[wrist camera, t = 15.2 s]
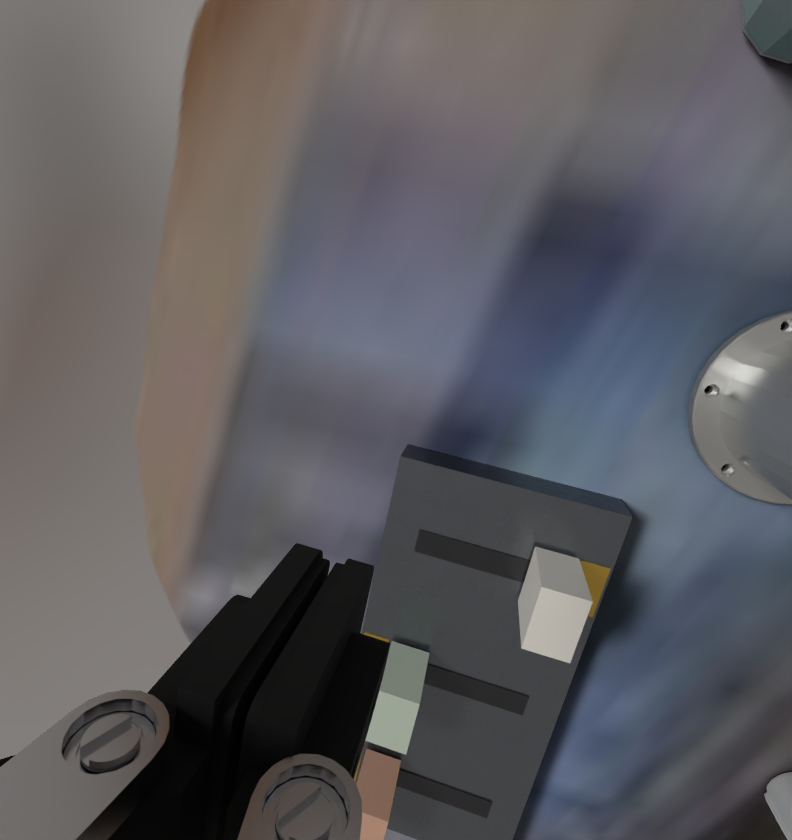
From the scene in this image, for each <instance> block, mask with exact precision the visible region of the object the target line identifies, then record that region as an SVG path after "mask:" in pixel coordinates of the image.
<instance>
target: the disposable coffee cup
mask: <svg viewBox="0 0 792 840" xmlns="http://www.w3.org/2000/svg"><path fill="white" fill-rule="evenodd" d="M742 9H743V32H744V34H745V35H746V36H747V38H748V39H749V41H750V42H751V43H752V45H753V46H754V47H755V49H756V50H757V52H758V53H759V54H760V55H761V56H765V57H768V58H771V59H774V60H778V61H781V62H784V63H788V64H789V63H792V0H742Z"/></svg>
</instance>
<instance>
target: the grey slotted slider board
mask: <svg viewBox="0 0 792 840" xmlns="http://www.w3.org/2000/svg"><path fill="white" fill-rule="evenodd" d="M632 518H633V517H632V515H631V514H630V512H629V510H628V509H627V507H626V506H625V504H624V502H623V501H622V499H618V498H614V497H610V496H606V495H603V494H599V493H595V492H591V491H587V490H583V489H579V488H575V487H572V486H568V485H564V484H560V483H556V482H552V481H548V480H545V479H541V478H537V477H533V476H529V475H525V474H521V473H517V472H514V471H510V470H506V469H502V468H498V467H494V466H490V465H486V464H483V463H479V462H475V461H471V460H467V459H463V458H459V457H455V456H452V455H448V454H444V453H440V452H436V451H432V450H428V449H425V448H421V447H417V446H413V445H409V444H408V445H407V446H406V448H405V450H404V451H403V453H402V455H401V457H400V461H399V466H398V470H397V475H396V480H395V484H394V489H393V493H392V498H391V502H390V507H389V512H388V516H387V521H386V525H385V530H384V535H383V539H382V544H381V548H380V553H379V557H378V562H377V567H376V571H375V576H374V580H373V585H372V590H371V594H370V599H369V603H368V608H367V612H366V617H365V622H364V626H363V631H362V634H364V635H367V636H370V637H373V638H376V639H379V640H383V641H386V642H389V643H390V646H391V642H392V641H394V642H397V643H400V644H403V645H406V646H409V647H413V648H416V649H419V650H422V651H425V652H428V653H429V658H428V663H427V669H426V674H425V679H424V684H423V690H422V695H421V700H420V705H419V709H418V713H417V716H416V720H415V724H414V727H413V731H412V735H411V738H410V742H409V746H408V750H407V753H406V755H405V754H402V753H399V752H396V751H394V750H391V749H388V748H385V747H382V746H379V745H376V744H373V743H371V742H368V741H365V743H364V746H363V750H362V753H361V756H360V760H359V763H358V767H357V770H356V773H355V777H354V781H355V783H356V784H357V780H358V777H359V773H360V770H361V766H362V763H363V759H364V756H365V752H366V749H369V750H372V751H375V752H378V753H381V754H384V755H386V756H389V757H392V758H395V759H398V760H401V764H400V768H399V773H398V778H397V783H396V788H395V793H394V798H393V802H392V807H391V812H390V817H389V822H388V826H387V828H388V829H390V830H393V831H396V832H399V833H401V834H404V835H407V836H409V837H412V838H415V839H417V840H513V837H514V834H515V831H516V829H517V826H518V823H519V821H520V818H521V815H522V813H523V810H524V807H525V805H526V802H527V799H528V797H529V794H530V791H531V789H532V786H533V783H534V781H535V778H536V775H537V772H538V770H539V767H540V764H541V762H542V759H543V756H544V754H545V751H546V748H547V746H548V743H549V740H550V738H551V735H552V732H553V730H554V727H555V724H556V722H557V719H558V716H559V713H560V711H561V708H562V705H563V703H564V700H565V697H566V695H567V692H568V689H569V687H570V684H571V681H572V679H573V676H574V673H575V671H576V668H577V665H578V663H579V660H580V657H581V654H582V652H583V649H584V646H585V644H586V641H587V638H588V636H589V633H590V630H591V628H592V625H593V622H594V620H595V617H596V614H597V612H598V609H599V606H600V604H601V601H602V598H603V595H604V593H605V590H606V587H607V585H608V582H609V579H610V577H611V574H612V571H613V569H614V566H615V563H616V561H617V558H618V555H619V553H620V550H621V547H622V545H623V542H624V539H625V537H626V534H627V531H628V528H629V526H630V523H631V520H632ZM535 546H536V547H539V548H543V549H546V550H550V551H554V552H557V553H561V554H564V555H568V556H572V557H575V558H579V560H580V563H581V566H582V569H583V572H584V576H585V579H586V582H587V585H588V588H589V591H590V594H591V598H592V601H593V603H592V605H591V608H590V611H589V613H588V616H587V619H586V622H585V624H584V627H583V630H582V633H581V635H580V638H579V641H578V643H577V646H576V649H575V652H574V654H573V657H572V660H571V662H570V663H567V662H564V661H560V660H557V659H554V658H551V657H547V656H544V655H541V654H538V653H534V652H531V651H528V650H525V649H521V638H520V624H519V610H518V599H519V596H520V593H521V590H522V586H523V583H524V580H525V577H526V574H527V571H528V568H529V564H530V561H531V558H532V555H533V552H534V549H535Z"/></svg>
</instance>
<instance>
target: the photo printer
mask: <svg viewBox="0 0 792 840" xmlns="http://www.w3.org/2000/svg"><path fill="white" fill-rule="evenodd" d="M766 789H767V792H766V793H765V794H764V796H765V799H766V801H767V803H768V805H769V807H770V809H771V811H772V813H773V815H774V816H775V818H776V820H777V822H778V824H779V825H780V827H781V829H782V831H783V833H784V835H785V836H786V838H787V840H792V772H787V773H783V774H780V775H778V776H776V777H774V778H773V779H772V780H771V781H770V782H769V783H768V785H767V787H766Z"/></svg>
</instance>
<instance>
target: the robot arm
mask: <svg viewBox="0 0 792 840" xmlns="http://www.w3.org/2000/svg"><path fill="white" fill-rule="evenodd" d="M783 322H784V324H785V326H784V328H783V329H780V328H781V324H782V323H783ZM707 386H710V390H709V391H708V392H704V389H705V388H706V387H707ZM688 427H689V432H690V436H691V441H692V443H693V445H694V447H695V450H696V452H697V454H698V456H699V458H700V459H701V460H702V461H703V463H704V464H705V465H706V467H707V468H708V469H709V470H710V471H711V472H712V473H713V474H714V475H715V476H716V477H718V478H719V479H720V480H721V481H722V482H724V483H725V484H727V485H728V486H730V487H731V488H732V489H734V490H735V491H737V492H740V493H742V494H744V495H746V496H749V497H751V498H753V499H757V500H761V501H765V502H769V503H774V504H787V505H792V311H786V312H782V313H779V314H776V315H773V316H769V317H766V318H763V319H761V320H759V321H757V322H755V323H753V324H751V325H749V326H747V327H745V328H743V329H742V330H740V331H739V332H738V333H736V334H735V335H734V336H732V337H731V338H729V339H728V340H727V341H725V342H724V343H723V344H722V345H721V346H720V347H719V348H718V349H717V350H716V351H715V353H714V354H713V355H712V356H711V357H710V358H709V360H708V361H707V363H706V364H705V365H704V367H703V368H702V370H701V371H700V373H699V375H698V377H697V380H696V382H695V384H694V386H693V389H692V392H691V397H690V401H689V406H688ZM725 464H726V467H725V468H723V469H721V468H722V467H723V465H725ZM322 557H323V552H322V550H318V549H315V548H312V547H308V546H305V545H301V544H298V543H297V544H295V545H294V546H293V547H292V549H291V550H290V551H289V552H288V553H287V555H286V556H285V557H284V558H283V560H282V561H281V562H280V563H279V564H278V566H277V567H276V568H275V569H274V571H273V572H272V573H271V574H270V575H269V577H268V578H267V579H266V580H265V582H264V583H263V584H262V585H261V586H260V588H259V589H258V590H257V591H256V593H255V594H254V595H253V596H252V597H251V599H250V598H247V597H244V596H241V595H236V596H234V597H233V598H231V599H230V600H229V601H228V602H227V604H226V605H225V606H224V607H223V608H222V609H221V610H220V612H219V613H218V614H217V615H216V616H215V617H214V618H213V619H212V621H211V622H210V623H209V624H208V625H207V626H206V627H205V628H204V630H203V631H202V632H201V633H200V634H199V635H198V636H197V638H196V639H195V640H194V641H193V642H192V643H191V644H190V645H189V647H188V648H187V649H186V650H185V651H184V652H183V653H182V654H181V656H180V657H179V658H178V659H177V660H176V661H175V662H174V664H173V665H172V666H171V667H170V668H169V669H168V670H167V671H166V673H165V674H164V675H163V676H162V677H161V678H160V679H159V680H158V682H157V683H156V684H155V685H154V686H153V687H152V689H151V690H150V691H149V692H148V693H145V692H142V691H135V690H121V691H115V692H109V693H105V694H102V695H100V696H97V697H95V698H92V699H90V700H88V701H86V702H85V703H83V704H82V705H80V706H78V707H77V708H75V709H74V710H72V711H71V712H70V713H68V714H67V715H66V716H65V717H63V718H62V719H61V720H59V721H58V722H57V723H56V724H54V725H53V726H52V727H51V728H49V729H48V730H47V731H46V732H44V733H43V734H42V735H40V736H39V737H38V738H37V739H35V740H34V741H33V742H32V743H30V744H29V745H28V746H26V747H25V748H24V749H23V750H21V751H20V752H19V753H18V754H16V755H14V756H10V757H7V758H4V759H1V760H0V840H360V833H361V824H362V799H361V797H360V794H359V791H358V788H357V785H356V783H355V781H354V777H355V773H356V770H357V767H358V763H359V760H360V756H361V753H362V750H363V746H364V743H365V740H366V736H367V733H368V729H369V726H370V723H371V719H372V716H373V712H374V709H375V705H376V701H377V698H378V694H379V690H380V686H381V682H382V678H383V674H384V670H385V666H386V662H387V658H388V654H389V649H390V643H389V642H386V641H383V640H379V639H376V638H373V637H370V636H367V635H364V634H361V633H360V631H361V626H362V622H363V617H364V612H365V608H366V603H367V599H368V594H369V589H370V585H371V580H372V576H373V570H374V566H372V565H369V564H366V563H362V562H359V561H355V560H352V559H347V561H346V563H345V564H344V565H343V564H340V563H336V564H335V565H334V567H333V568H332V570H331V572H330V573H329V575H328V571H329V565H330V561H329V560H327V559H323V558H322ZM327 576H328V577H327Z"/></svg>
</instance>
